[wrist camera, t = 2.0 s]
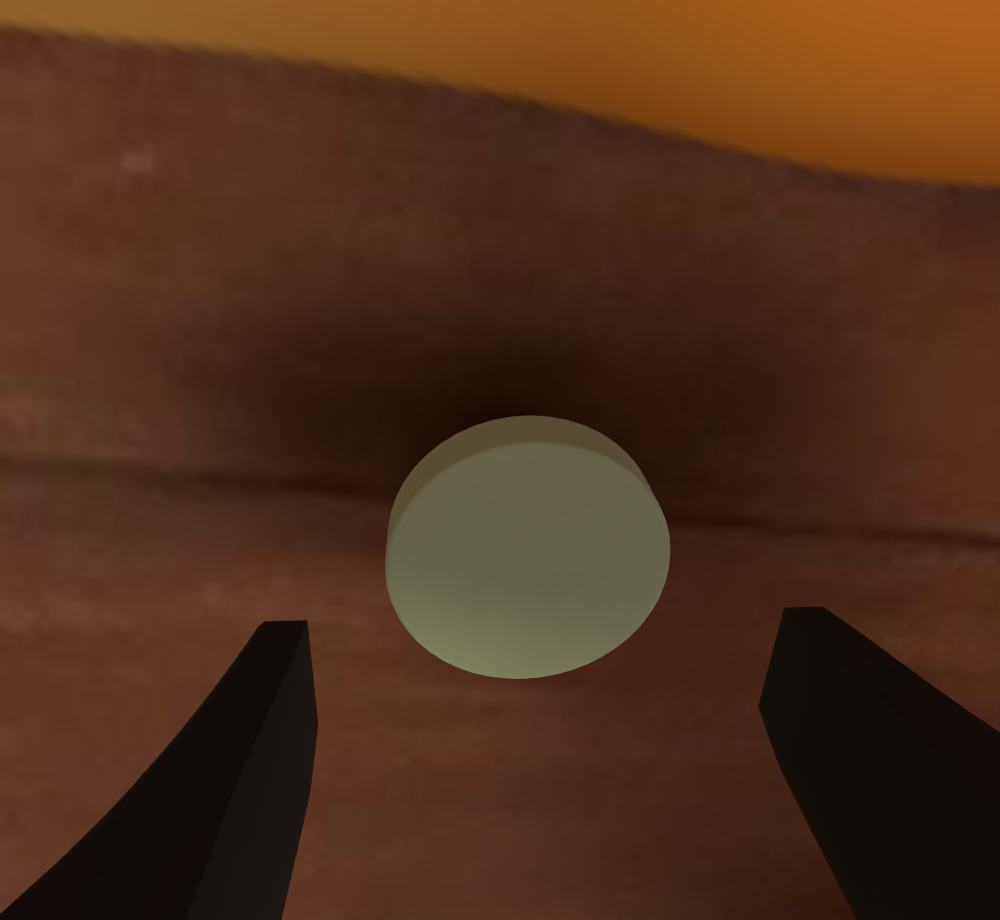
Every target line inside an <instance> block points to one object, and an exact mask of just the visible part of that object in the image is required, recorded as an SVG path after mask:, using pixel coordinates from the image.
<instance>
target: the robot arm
mask: <svg viewBox="0 0 1000 920" xmlns="http://www.w3.org/2000/svg"><path fill="white" fill-rule="evenodd" d="M758 707H759V710H760V713H761V716H762V719H763V722H764V725H765V727H766V730H767V733H768V736H769V739H770V742H771V745H772V747H773V750H774V753H775V756H776V758H777V761H778V764H779V766H780V769H781V771H782V773H783V775H784V777H785V779H786V781H787V783H788V785H789V787H790V789H791V791H792V793H793V795H794V797H795V799H796V801H797V803H798V805H799V807H800V809H801V811H802V813H803V815H804V817H805V819H806V821H807V823H808V825H809V827H810V829H811V831H812V833H813V835H814V837H815V839H816V841H817V843H818V845H819V847H820V849H821V851H822V853H823V855H824V857H825V859H826V861H827V863H828V864H829V866H830V868H831V870H832V872H833V874H834V876H835V878H836V880H837V882H838V884H839V886H840V888H841V890H842V892H843V894H844V896H845V898H846V900H847V902H848V904H849V906H850V908H851V910H852V911H853V913H854V916H855V918H856V920H1000V732H999V731H997V730H996V729H994V728H993V727H991V726H990V725H988V724H987V723H985V722H984V721H982V720H981V719H979V718H978V717H976V716H975V715H974V714H972V713H971V712H969V711H968V710H966V709H965V708H963V707H962V706H960V705H959V704H958V703H956V702H955V701H953V700H952V699H950V698H949V697H948V696H946V695H945V694H943V693H942V692H941V691H939V690H938V689H936V688H935V687H934V686H932V685H931V684H929V683H928V682H927V681H925V680H924V679H922V678H921V677H920V676H918V675H917V674H916V673H914V672H913V671H912V670H910V669H909V668H907V667H906V666H905V665H903V664H902V663H901V662H899V661H898V660H896V659H895V658H894V657H892V656H891V655H890V654H888V653H887V652H886V651H884V650H883V649H882V648H880V647H879V646H877V645H876V644H875V643H873V642H872V641H871V640H869V639H868V638H867V637H865V636H864V635H862V634H861V633H860V632H858V631H857V630H856V629H854V628H853V627H851V626H850V625H849V624H847V623H846V622H844V621H843V620H841V619H840V618H839V617H837V616H836V615H834V614H833V613H831V612H830V611H828V610H827V609H825V608H823V607H795V608H784V611H783V615H782V618H781V622H780V626H779V630H778V633H777V637H776V641H775V645H774V649H773V652H772V656H771V660H770V664H769V668H768V671H767V675H766V679H765V683H764V687H763V690H762V694H761V698H760V702H759V706H758ZM317 729H318V718H317V708H316V699H315V689H314V680H313V670H312V661H311V651H310V642H309V632H308V623H307V620H303V621H266V622H263V623H262V624H261V625H260V626H259V627H258V628H257V629H256V631H255V632H254V634H253V635H252V637H251V638H250V639H249V641H248V642H247V644H246V645H245V647H244V648H243V649H242V651H241V652H240V654H239V655H238V657H237V658H236V659H235V661H234V662H233V664H232V665H231V666H230V668H229V669H228V670H227V672H226V673H225V674H224V676H223V677H222V678H221V680H220V681H219V682H218V684H217V685H216V686H215V688H214V689H213V690H212V692H211V693H210V694H209V696H208V697H207V698H206V699H205V701H204V702H203V703H202V704H201V706H200V707H199V708H198V709H197V711H196V712H195V713H194V714H193V716H192V717H191V718H190V719H189V721H188V722H187V723H186V724H185V726H184V727H183V728H182V730H181V731H180V732H179V733H178V734H177V736H176V737H175V738H174V739H173V740H172V742H171V743H170V744H169V745H168V746H167V747H166V748H165V750H164V751H163V752H162V753H161V754H160V755H159V756H158V758H157V759H156V760H155V761H154V762H153V763H152V764H151V765H150V767H149V768H148V769H147V770H146V771H145V772H144V773H143V775H142V776H141V777H140V778H139V779H138V780H137V781H136V783H135V784H134V785H133V786H132V787H131V788H130V789H129V790H128V791H127V792H126V794H125V795H124V796H123V797H122V798H121V799H120V800H119V801H118V802H117V803H116V804H115V805H114V806H113V807H112V808H111V809H110V810H109V812H108V813H107V814H106V815H105V816H104V817H103V818H102V819H101V820H100V821H99V822H98V823H97V824H96V825H95V826H94V827H93V828H92V829H91V830H90V831H89V832H88V833H87V834H86V835H85V836H84V837H83V838H82V839H81V840H80V841H79V842H78V843H77V844H76V845H75V846H74V847H72V848H71V849H70V850H69V851H68V852H67V853H66V854H65V855H64V856H63V857H62V858H61V859H60V860H59V861H58V862H57V863H56V864H55V865H54V866H52V867H51V868H50V869H49V870H48V871H47V872H46V873H45V874H44V875H43V876H42V877H40V878H39V879H38V880H37V881H36V882H35V883H34V884H33V885H32V886H31V887H29V888H28V889H27V890H26V891H25V892H24V893H23V894H22V895H21V896H20V897H18V898H17V899H16V900H15V901H14V902H13V903H12V904H11V905H10V906H9V907H7V908H6V909H5V910H4V911H3V912H2V913H0V920H281V919H282V915H283V910H284V906H285V902H286V897H287V893H288V888H289V884H290V880H291V875H292V871H293V867H294V862H295V858H296V853H297V849H298V845H299V840H300V836H301V831H302V827H303V822H304V818H305V813H306V809H307V804H308V800H309V795H310V790H311V782H312V774H313V765H314V757H315V747H316V738H317Z"/></svg>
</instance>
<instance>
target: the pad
mask: <svg viewBox="0 0 1000 920" xmlns="http://www.w3.org/2000/svg"><path fill="white" fill-rule="evenodd" d="M669 562H670V537H669V532H668V527H667V523H666V520H665V517H664V515H663V512H662V510H661V507H660V505H659V503H658V501H657V500H656V498H655V496H654V494H653V492H652V490H651V488H650V486H649V484H648V483H647V481H646V479H645V477H644V475H643V474H642V472H641V471H640V469H639V467H638V466H637V464H636V463H635V462H634V461H633V460H632V458H631V457H630V456H629V455H628V454H627V453H626V452H625V451H624V450H623V449H622V448H621V447H620V446H618V445H617V444H616V443H615V442H614V441H612V440H610V439H609V438H607V437H606V436H604V435H603V434H601V433H599V432H597V431H595V430H593V429H591V428H589V427H587V426H585V425H582V424H578V423H575V422H572V421H569V420H565V419H559V418H554V417H548V416H531V415H529V416H513V417H506V418H501V419H496V420H491V421H488V422H485V423H481V424H478V425H475V426H473V427H470V428H468V429H466V430H464V431H462V432H459V433H457V434H456V435H454V436H452V437H451V438H449V439H447V440H446V441H444V442H442V443H441V444H440V445H438V446H437V447H436V448H435V449H433V450H432V451H431V452H429V453H428V454H427V455H426V456H425V457H424V458H423V459H422V460H421V461H420V462H419V463H418V464H417V465H416V466H415V467H414V469H413V470H412V472H411V473H410V474H409V476H408V477H407V478H406V480H405V481H404V483H403V485H402V487H401V489H400V490H399V492H398V494H397V496H396V499H395V502H394V505H393V507H392V510H391V515H390V520H389V525H388V536H387V547H386V560H385V576H386V584H387V589H388V593H389V596H390V600H391V603H392V605H393V607H394V609H395V611H396V613H397V616H398V617H399V619H400V620H401V622H402V623H403V625H404V626H405V628H406V629H407V631H408V632H409V633H410V634H411V635H412V636H413V637H414V638H415V639H416V641H417V642H418V643H420V644H421V645H422V646H423V647H424V648H426V649H427V650H428V651H429V652H431V653H432V654H434V655H435V656H437V657H438V658H440V659H442V660H443V661H445V662H447V663H449V664H451V665H454V666H456V667H458V668H461V669H464V670H466V671H469V672H472V673H476V674H481V675H485V676H490V677H498V678H511V679H525V678H537V677H544V676H550V675H555V674H559V673H563V672H566V671H570V670H573V669H576V668H578V667H581V666H583V665H586V664H588V663H590V662H592V661H594V660H596V659H598V658H600V657H602V656H604V655H605V654H607V653H608V652H610V651H611V650H613V649H615V648H616V647H618V646H619V645H620V644H621V643H622V642H624V641H625V640H626V639H627V638H628V637H630V636H631V635H632V634H633V633H634V632H635V631H636V630H637V629H638V628H639V626H640V625H641V624H642V623H643V622H644V621H645V619H646V618H647V617H648V615H649V614H650V613H651V611H652V609H653V608H654V606H655V604H656V602H657V601H658V599H659V597H660V594H661V592H662V590H663V587H664V585H665V581H666V577H667V573H668V569H669Z"/></svg>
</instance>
